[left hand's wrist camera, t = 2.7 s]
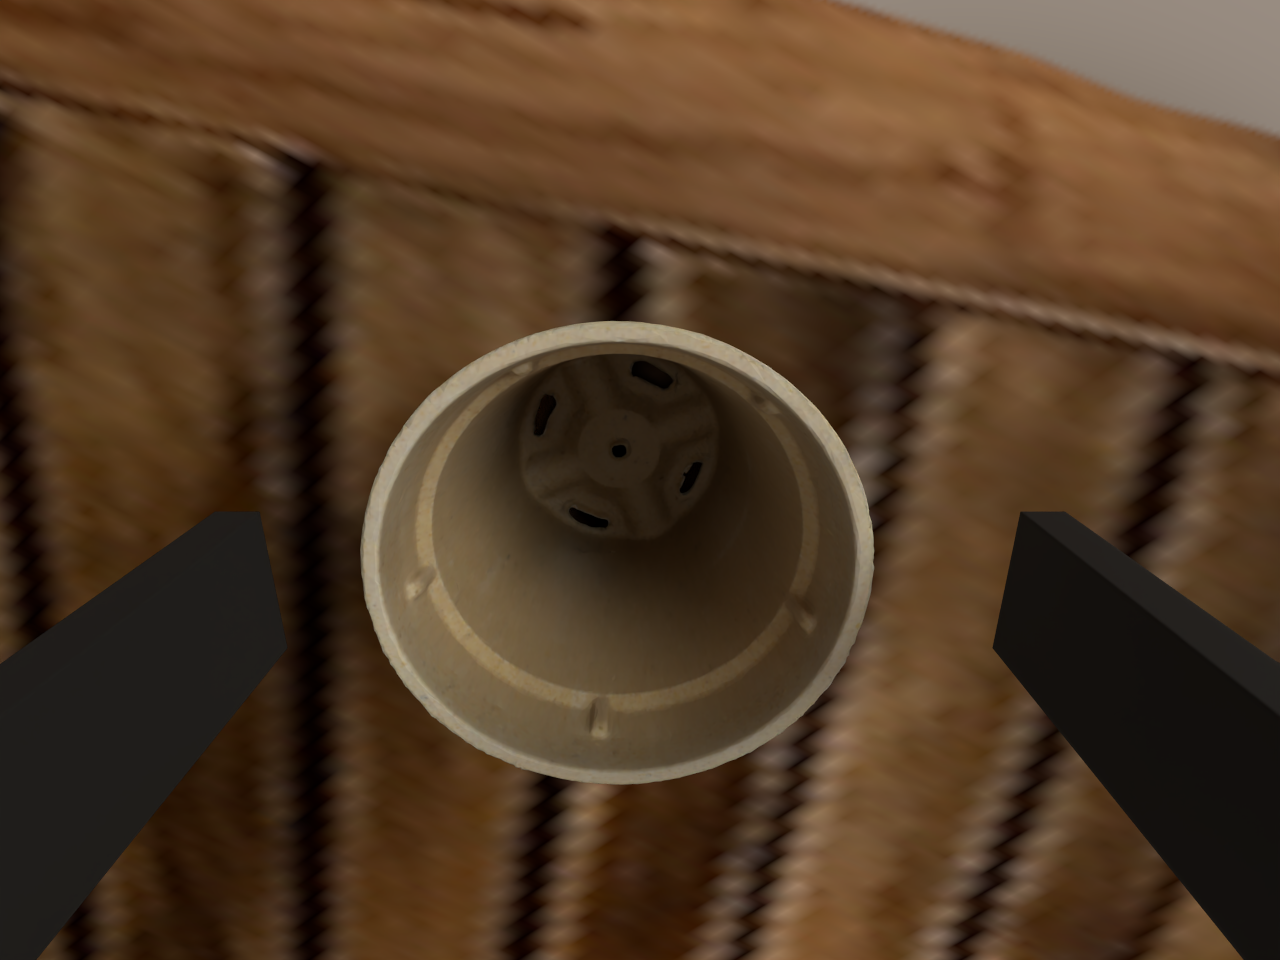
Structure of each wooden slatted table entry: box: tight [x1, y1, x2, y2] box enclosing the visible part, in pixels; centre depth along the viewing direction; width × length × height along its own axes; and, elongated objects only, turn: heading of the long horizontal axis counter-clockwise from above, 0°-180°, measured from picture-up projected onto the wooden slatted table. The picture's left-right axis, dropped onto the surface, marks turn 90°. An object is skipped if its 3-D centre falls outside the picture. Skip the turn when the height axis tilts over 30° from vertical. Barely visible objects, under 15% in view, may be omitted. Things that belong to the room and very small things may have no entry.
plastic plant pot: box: [360, 321, 874, 784], centre depth 17 cm, size 9×9×9 cm
